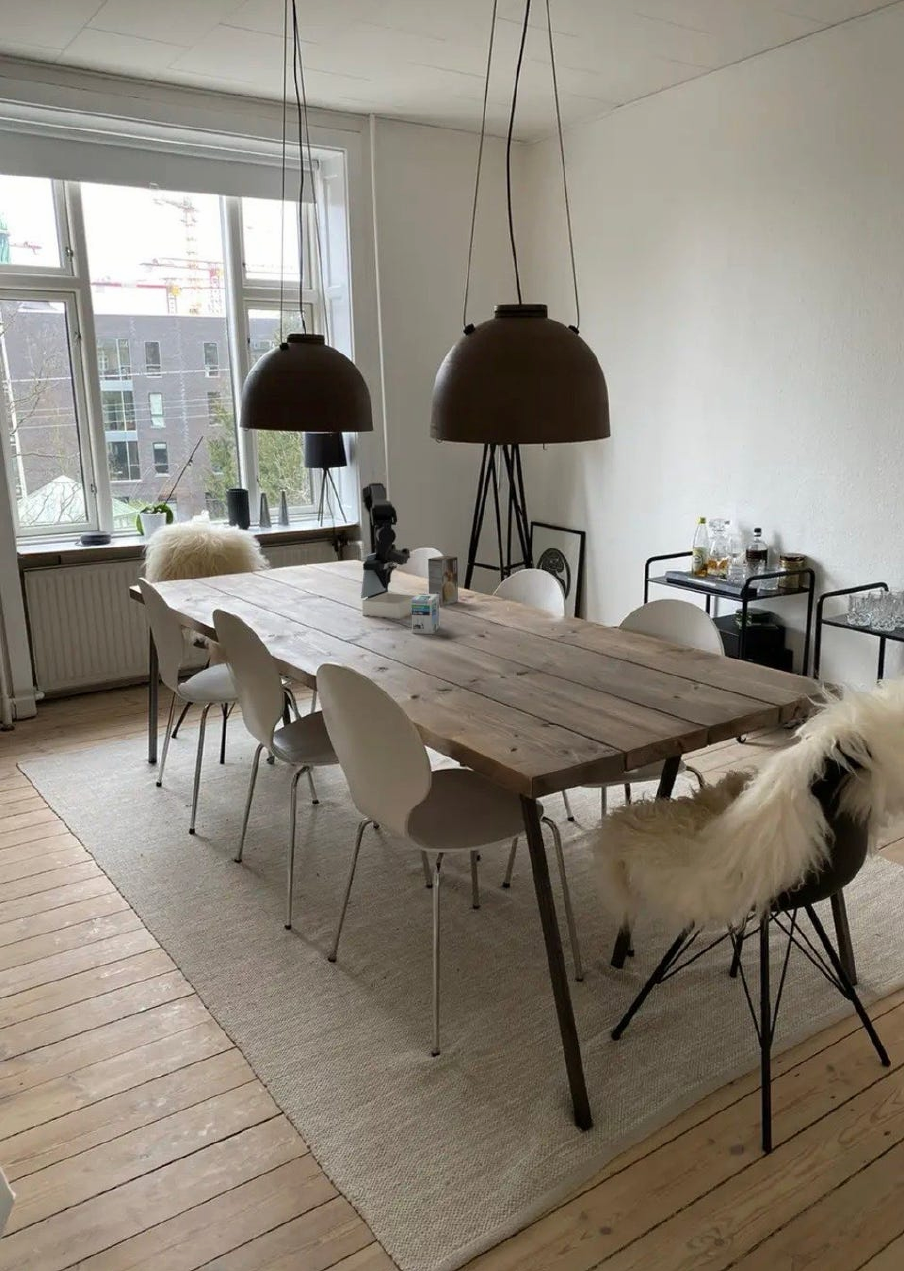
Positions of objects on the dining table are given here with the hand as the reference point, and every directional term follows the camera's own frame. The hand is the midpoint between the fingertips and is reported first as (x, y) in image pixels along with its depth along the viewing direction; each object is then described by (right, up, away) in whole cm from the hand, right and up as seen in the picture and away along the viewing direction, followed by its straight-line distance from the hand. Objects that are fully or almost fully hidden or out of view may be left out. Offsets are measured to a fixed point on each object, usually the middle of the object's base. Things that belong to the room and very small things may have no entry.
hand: (385, 587), depth 330 cm
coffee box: (+19, -5, +17) cm, 26 cm away
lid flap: (-3, +5, +1) cm, 6 cm away
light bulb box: (+14, -15, -24) cm, 31 cm away
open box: (+2, -8, +1) cm, 9 cm away
